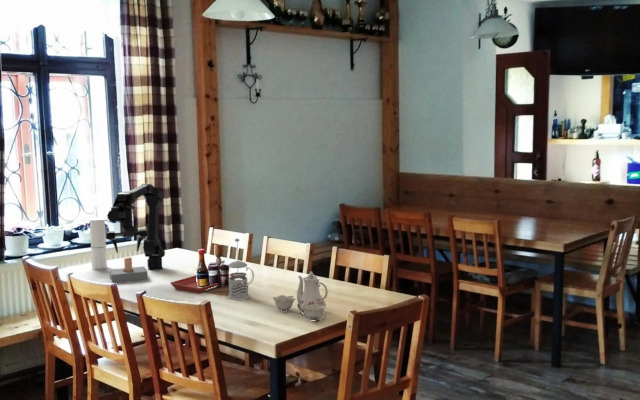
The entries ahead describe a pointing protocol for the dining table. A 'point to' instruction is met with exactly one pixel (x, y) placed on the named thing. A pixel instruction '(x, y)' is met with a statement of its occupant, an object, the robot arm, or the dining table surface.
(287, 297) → the chinaware
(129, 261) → the peg
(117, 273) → the socket block
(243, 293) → the french press
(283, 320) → the dining table surface
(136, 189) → the robot arm
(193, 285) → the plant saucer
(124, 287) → the dining table surface
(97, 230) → the cylindrical container
